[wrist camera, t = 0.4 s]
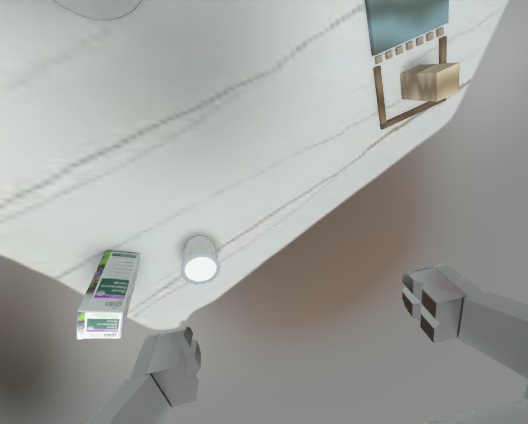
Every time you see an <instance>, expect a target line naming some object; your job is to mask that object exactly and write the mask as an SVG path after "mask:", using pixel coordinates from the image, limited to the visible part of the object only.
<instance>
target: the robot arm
mask: <svg viewBox="0 0 528 424" xmlns="http://www.w3.org/2000/svg"><path fill="white" fill-rule="evenodd" d="M54 1H56V2H57V3H59V4H60V5H61V6H63V7H65V8H66V9H68V10H70V11H72V12H74V13H76V14H79V15H81V16H84V17H87V18H92V19H99V20H109V19H115V18H119V17H121V16H124V15H126V14H127V13H129V12H131V11H132V10H133V9H134V8H135V7H136V6H137V5H138V4H139V3H140V1H141V0H54ZM402 283H403V284H404V285H405V286H406V287H405V288H404V289H403V291H402V299H403V302H404V305H405V307H406V309H407V310H408V312H409V313H410V314H411V316H412V317H414V318H416V319H418V320H420V321H421V322H420V327H421V328H422V330H423V331H424V332H425V333H426V334H427V336H428V337H429V338H430V339H431V341H432V342H433V343H435V342H439V341H444V340H449V339H454V338H458V339H459V340H461V341H463V342H464V343H466V344H468V345H470V346H471V347H473V348H475V349H477V350H478V351H480V352H482V353H484V354H485V355H487V356H489V357H491V358H492V359H494V360H496V361H497V362H499V363H501V364H503V365H504V366H506V367H508V368H510V369H511V370H513V371H515V372H516V373H518V374H520V375H521V376H523V377H525V378H527V379H528V305H527V304H524V303H521V302H518V301H515V300H512V299H509V298H506V297H503V296H499V295H496V294H493V293H491V292H486V293H484V292H483V291H481V290H480V289H479V288H477V287H476V286H475V285H474V284H472V283H471V282H470V281H468V280H467V279H466V278H465V277H463V276H462V275H461V274H459V273H458V272H457V271H456V270H454V269H453V268H452V267H450V266H449V265H447V264H440V265H436V266H432V267H428V268H424V269H420V270H416V271H412V272H409V273H405V274H403V276H402ZM192 336H193V332H192V330H191V328H190V327H183V328H178V329H174V330H169V331H164V332H161V333H156V334H152V335H148V336H147V337H146V339H145V340H144V343H143V346H142V349H141V351H140V353H139V356H138V359H137V361H136V364H135V367H134V370H133V372H132V375H131V377H130V379H128V380H125V381H124V382H123V383H122V385H121V386H120V387H119V388H118V389H117V390H116V391H115V392H114V393H113V394H112V396H111V397H110V398H109V399H108V400H107V401H106V402H105V403H104V404H103V405H102V406H101V407H100V409H99V410H98V411H97V412H96V413H95V414H94V415H93V417H91V418H90V419H89V421H88V422H87V423H86V424H163V423H164V421H165V420H166V418H167V416H168V415H169V413H170V411H171V410H172V408H171V407H174V406H178V405H182V404H185V403H189V402H192V401H195V400H196V396H197V389H198V379H197V377H196V374H197V372H198V371H199V369H200V366H201V352H200V348H199V345H198V342H197V341H196V340H193V339H192ZM524 398H525V399H523V400H519V401H515V402H511V403H507V404H503V405H499V406H494V407H491V408H486V409H482V410H478V411H474V412H470V413H466V414H461V415H458V416H453V417H449V418H445V419H441V420H437V421H433V422H429V423H425V424H528V382H527V384H526V388H525V390H524Z"/></svg>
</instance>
